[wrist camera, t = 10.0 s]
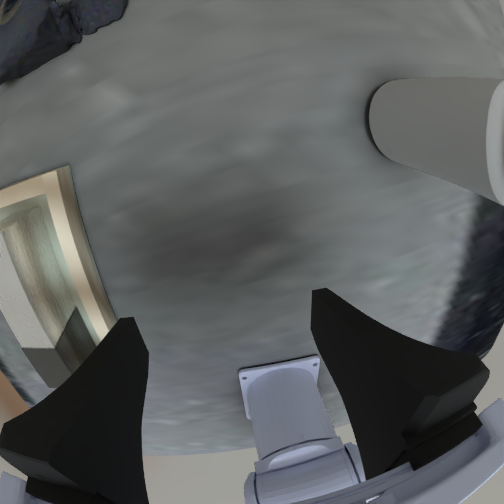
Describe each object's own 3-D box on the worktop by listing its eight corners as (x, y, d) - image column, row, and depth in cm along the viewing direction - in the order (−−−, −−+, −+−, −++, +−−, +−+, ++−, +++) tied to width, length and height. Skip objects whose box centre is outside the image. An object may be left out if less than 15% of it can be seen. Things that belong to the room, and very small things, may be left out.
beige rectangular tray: (137, 365, 24) (135, 381, 22) (60, 366, 23) (54, 379, 21) (69, 164, 15) (56, 170, 13) (-15, 195, 14) (-29, 203, 13)
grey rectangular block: (9, 214, 15) (-30, 242, 11) (41, 205, 15) (1, 233, 11) (65, 346, 21) (49, 387, 16) (96, 346, 21) (82, 389, 17)
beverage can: (351, 89, 16) (499, 85, 5) (416, 75, 16) (548, 81, 5) (376, 172, 19) (507, 238, 8) (434, 149, 19) (555, 194, 8)
